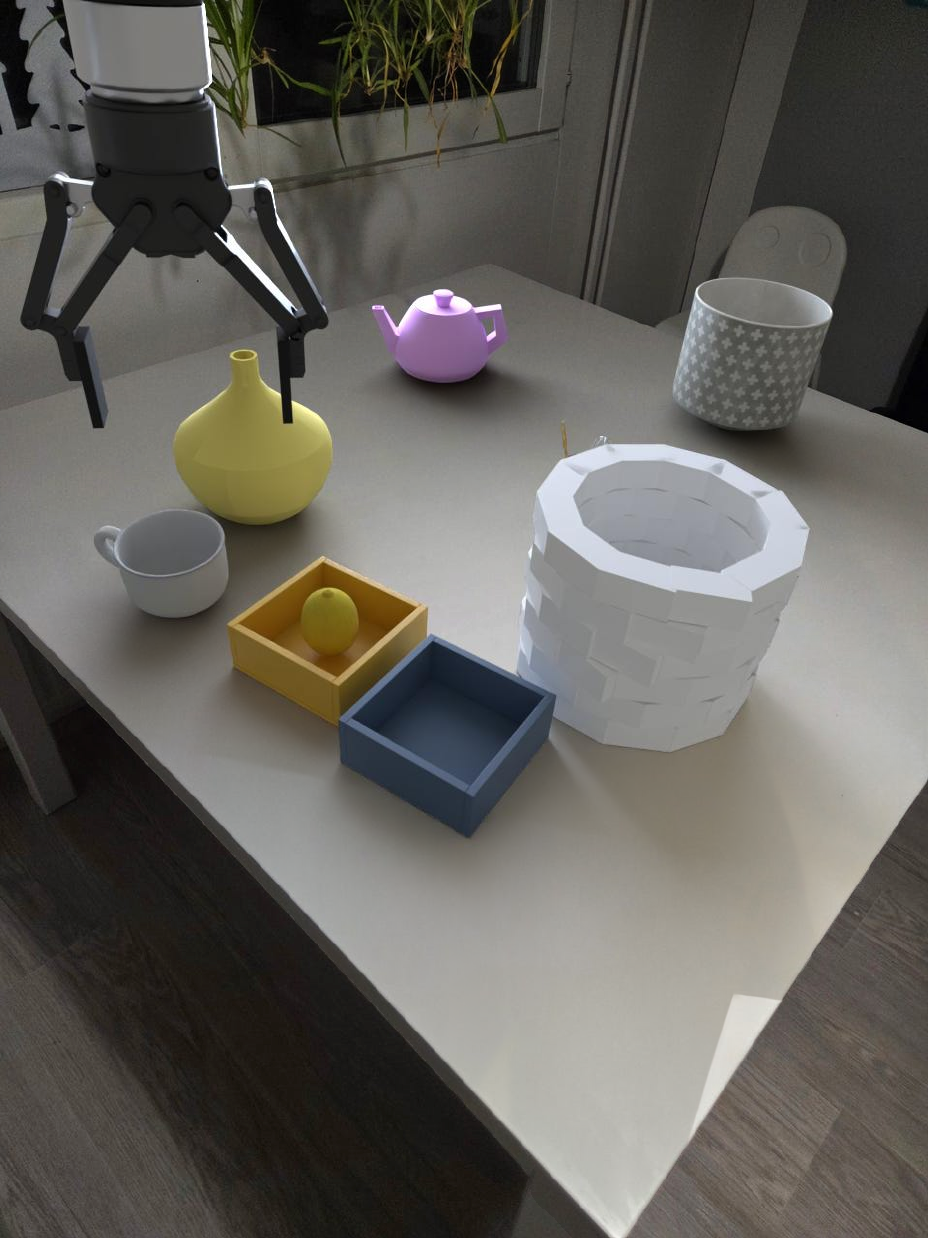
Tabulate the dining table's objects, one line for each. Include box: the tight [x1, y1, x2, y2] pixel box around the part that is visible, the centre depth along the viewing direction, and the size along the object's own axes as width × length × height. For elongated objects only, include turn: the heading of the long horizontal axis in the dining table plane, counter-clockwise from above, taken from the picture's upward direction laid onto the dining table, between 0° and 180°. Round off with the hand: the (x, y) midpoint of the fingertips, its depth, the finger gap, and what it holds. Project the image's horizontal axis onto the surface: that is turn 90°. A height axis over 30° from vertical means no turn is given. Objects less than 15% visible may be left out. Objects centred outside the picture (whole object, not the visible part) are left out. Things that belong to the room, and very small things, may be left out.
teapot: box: [372, 289, 510, 384], centre depth 132 cm, size 22×16×12 cm
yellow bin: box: [226, 555, 429, 728], centre depth 81 cm, size 14×14×6 cm
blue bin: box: [337, 633, 556, 840], centre depth 73 cm, size 14×14×6 cm
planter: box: [671, 277, 834, 432], centre depth 122 cm, size 19×19×18 cm
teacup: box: [93, 508, 230, 619], centre depth 86 cm, size 14×11×8 cm
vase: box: [172, 349, 334, 526], centre depth 96 cm, size 18×18×19 cm
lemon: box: [301, 588, 359, 656], centre depth 79 cm, size 6×6×8 cm
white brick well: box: [516, 443, 811, 753], centre depth 78 cm, size 25×24×19 cm
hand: (196, 418), depth 63 cm, fingers open, 13 cm apart
